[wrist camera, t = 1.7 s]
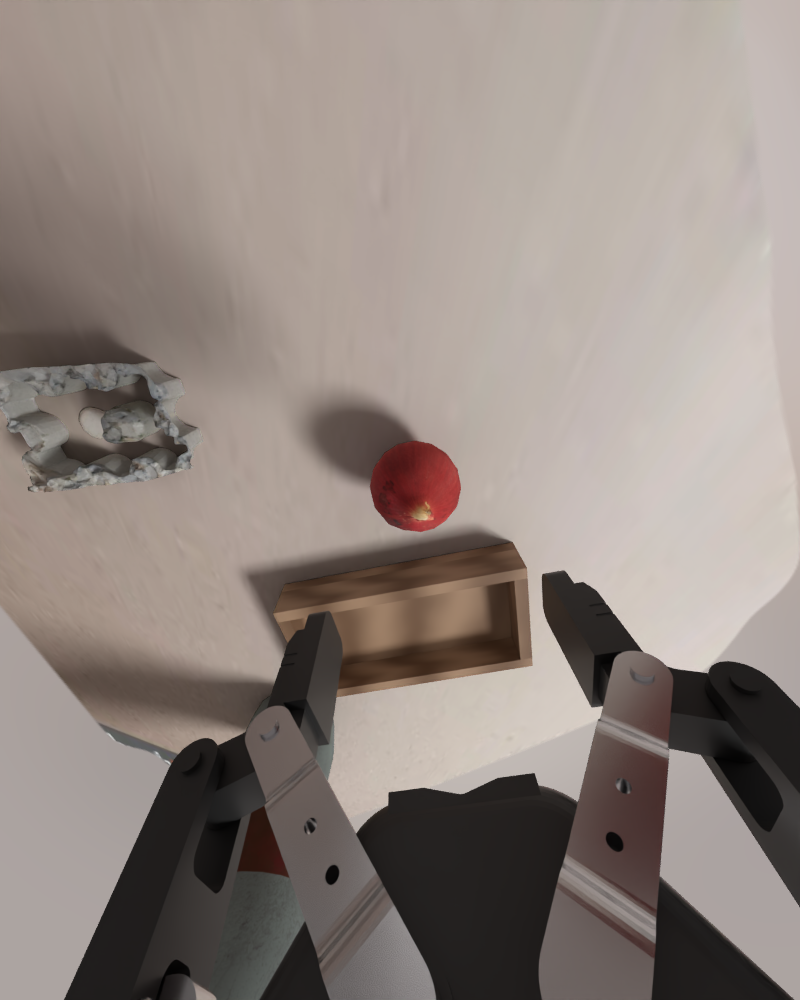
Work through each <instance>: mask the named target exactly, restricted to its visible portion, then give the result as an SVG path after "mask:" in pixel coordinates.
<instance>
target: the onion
mask: <svg viewBox="0 0 800 1000" xmlns="http://www.w3.org/2000/svg"><path fill="white" fill-rule="evenodd" d="M370 489H371V494H372V498H373V502H374V506H375V508H376V509H377V511H378V512H379V513H380V514H381V515H382V517H383V518H384V519H385V520H386V521H387V523H388V524H390V525H392V526H395V527H397V528H400V529H403V530H410V531H418V532H422V531H426V530H430V529H434V528H435V527H437V526H438V525H440V524H441V523H443V522H444V521H445V520H446V519H447V518H448V517H449V516H450V514H451V513H452V512H453V511H454V510H455V508H456V507H457V504H458V499H459V495H460V490H461V485H460V480H459V475H458V470H457V468H456V467H455V465H454V464H453V462H452V461H451V459H450V458H449V456H448V455H447V454H446V453H445V452H443V451H442V450H440V449H438V448H437V447H435V446H434V445H432V444H429V443H424V442H419V441H411V442H406V443H402V444H398V445H396V446H395V447H393V448H392V449H390V450H388V451H387V452H385V453H384V455H383V456H382V457H381V459H380V460H379V461H378V463H377V464H376V466H375V468H374V469H373V474H372V478H371V483H370Z"/></svg>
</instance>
